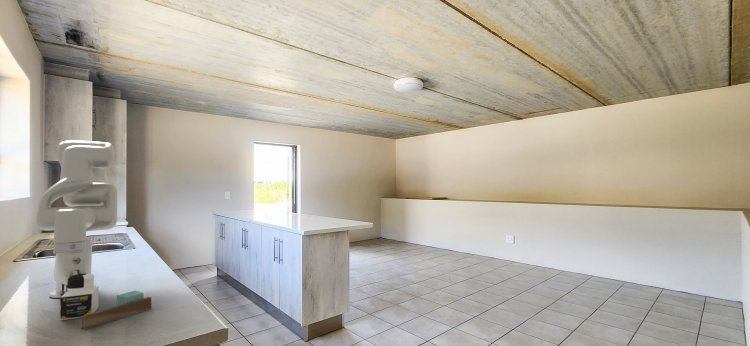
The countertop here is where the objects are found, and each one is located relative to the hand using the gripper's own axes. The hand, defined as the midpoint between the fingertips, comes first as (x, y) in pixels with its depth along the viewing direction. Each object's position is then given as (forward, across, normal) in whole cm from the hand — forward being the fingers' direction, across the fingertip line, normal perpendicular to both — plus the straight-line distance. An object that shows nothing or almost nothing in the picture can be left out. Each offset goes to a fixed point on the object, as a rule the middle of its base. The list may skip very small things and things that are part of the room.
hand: (67, 305), depth 102 cm
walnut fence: (+2, -22, -4) cm, 22 cm away
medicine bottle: (+2, -8, 0) cm, 8 cm away
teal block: (+2, -18, -9) cm, 20 cm away
